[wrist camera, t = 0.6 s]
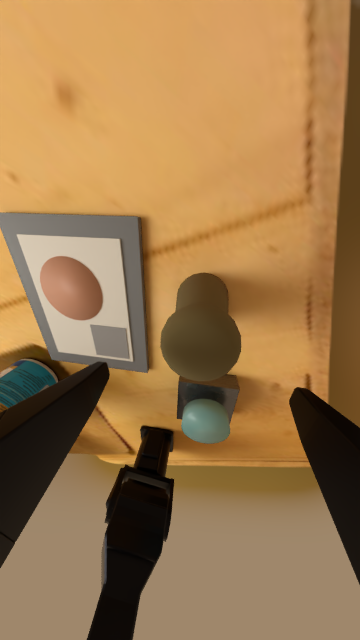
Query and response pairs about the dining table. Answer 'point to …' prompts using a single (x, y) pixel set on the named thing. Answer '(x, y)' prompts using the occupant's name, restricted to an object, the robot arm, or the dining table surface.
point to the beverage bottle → (24, 381)
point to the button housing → (208, 392)
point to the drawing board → (83, 285)
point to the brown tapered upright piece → (201, 331)
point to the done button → (205, 421)
